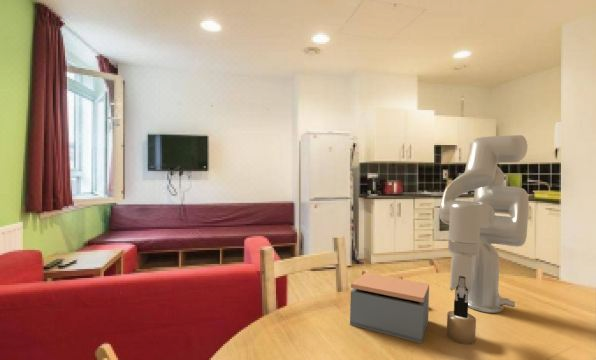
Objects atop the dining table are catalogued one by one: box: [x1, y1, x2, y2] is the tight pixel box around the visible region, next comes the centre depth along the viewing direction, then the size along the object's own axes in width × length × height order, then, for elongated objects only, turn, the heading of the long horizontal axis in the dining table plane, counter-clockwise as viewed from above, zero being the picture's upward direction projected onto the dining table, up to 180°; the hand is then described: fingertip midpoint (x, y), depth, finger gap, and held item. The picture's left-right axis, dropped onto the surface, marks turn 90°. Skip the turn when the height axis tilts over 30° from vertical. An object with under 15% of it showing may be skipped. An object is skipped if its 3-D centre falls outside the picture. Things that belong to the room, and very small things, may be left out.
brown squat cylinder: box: [446, 310, 477, 346], centre depth 86 cm, size 7×7×6 cm
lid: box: [350, 272, 430, 302], centre depth 93 cm, size 20×15×1 cm
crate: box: [349, 288, 430, 345], centre depth 93 cm, size 20×15×10 cm
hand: (460, 310), depth 85 cm, fingers open, 9 cm apart
